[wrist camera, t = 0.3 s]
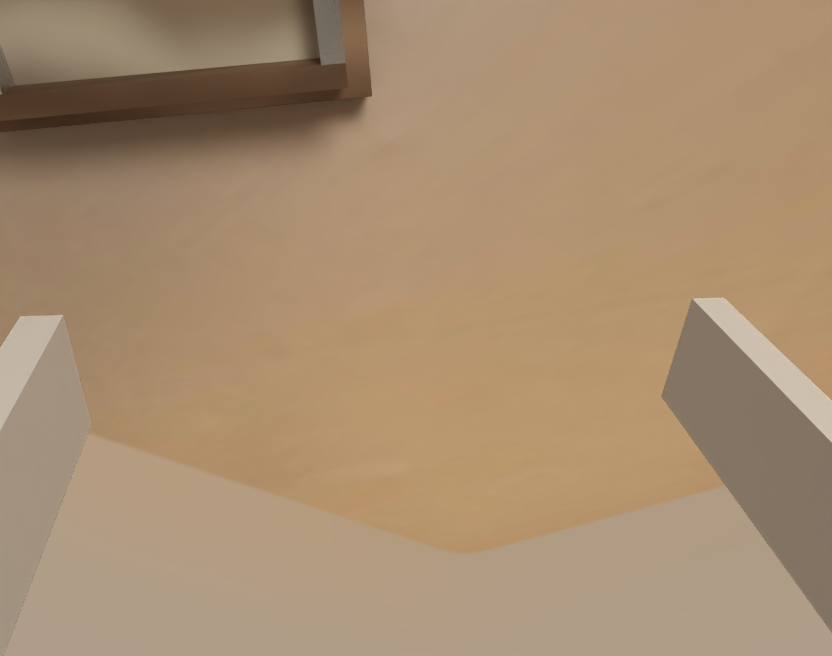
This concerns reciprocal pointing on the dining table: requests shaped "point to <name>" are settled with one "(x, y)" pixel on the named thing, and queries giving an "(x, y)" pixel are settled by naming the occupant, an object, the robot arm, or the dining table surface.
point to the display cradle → (174, 57)
